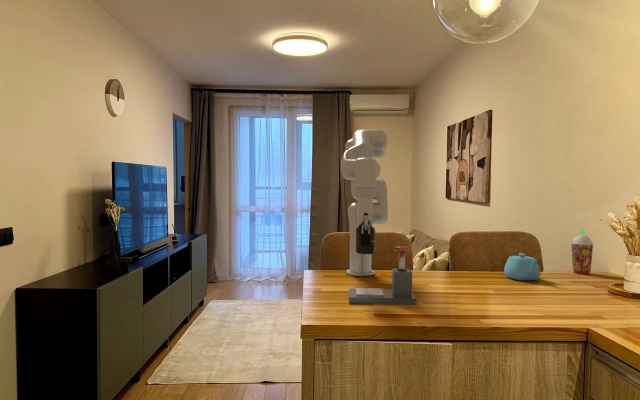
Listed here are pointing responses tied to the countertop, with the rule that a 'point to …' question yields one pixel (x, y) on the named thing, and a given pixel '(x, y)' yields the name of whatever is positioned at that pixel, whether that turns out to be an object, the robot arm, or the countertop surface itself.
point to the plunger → (402, 256)
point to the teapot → (522, 268)
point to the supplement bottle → (360, 248)
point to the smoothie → (582, 254)
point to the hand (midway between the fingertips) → (365, 244)
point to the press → (387, 291)
